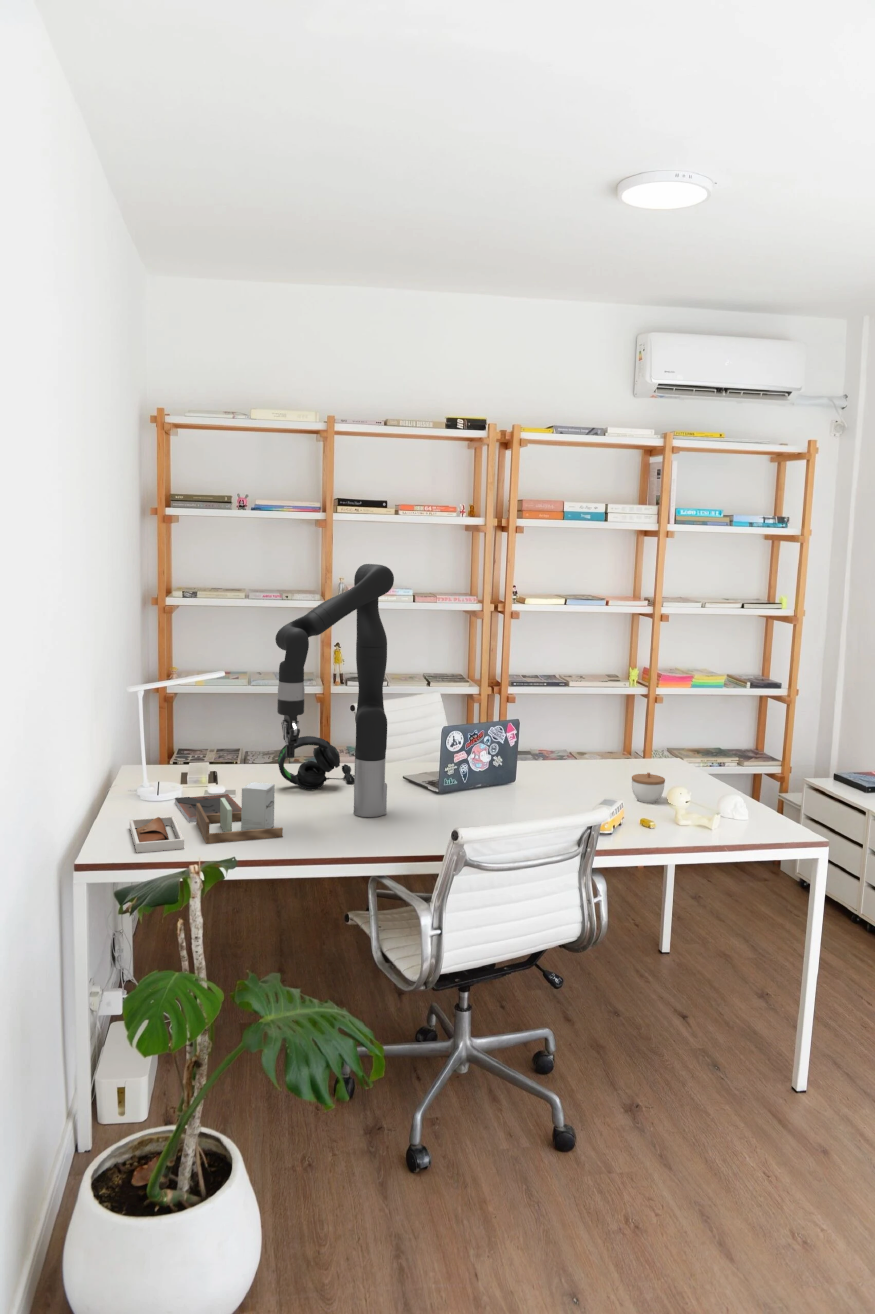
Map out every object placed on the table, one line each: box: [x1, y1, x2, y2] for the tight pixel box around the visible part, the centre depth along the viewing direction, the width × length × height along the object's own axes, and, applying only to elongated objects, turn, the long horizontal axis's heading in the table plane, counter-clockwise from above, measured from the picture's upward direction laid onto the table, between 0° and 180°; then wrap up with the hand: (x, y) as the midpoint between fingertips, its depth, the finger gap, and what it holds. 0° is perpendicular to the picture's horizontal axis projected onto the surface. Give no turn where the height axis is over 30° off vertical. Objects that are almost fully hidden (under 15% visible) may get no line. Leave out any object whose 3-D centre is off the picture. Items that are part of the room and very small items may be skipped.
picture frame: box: [174, 793, 242, 824], centre depth 290 cm, size 16×2×22 cm
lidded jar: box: [631, 772, 666, 804], centre depth 318 cm, size 11×11×9 cm
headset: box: [277, 735, 355, 791], centre depth 321 cm, size 18×14×29 cm
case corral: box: [129, 815, 185, 854], centre depth 262 cm, size 12×22×2 cm, turn 22°
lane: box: [195, 803, 284, 844], centre depth 272 cm, size 21×19×6 cm
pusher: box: [219, 798, 233, 832], centre depth 270 cm, size 1×12×8 cm, turn 22°
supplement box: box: [240, 781, 276, 831], centre depth 273 cm, size 7×7×13 cm
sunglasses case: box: [136, 816, 170, 842], centre depth 262 cm, size 18×7×7 cm
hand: (290, 757), depth 275 cm, fingers closed
